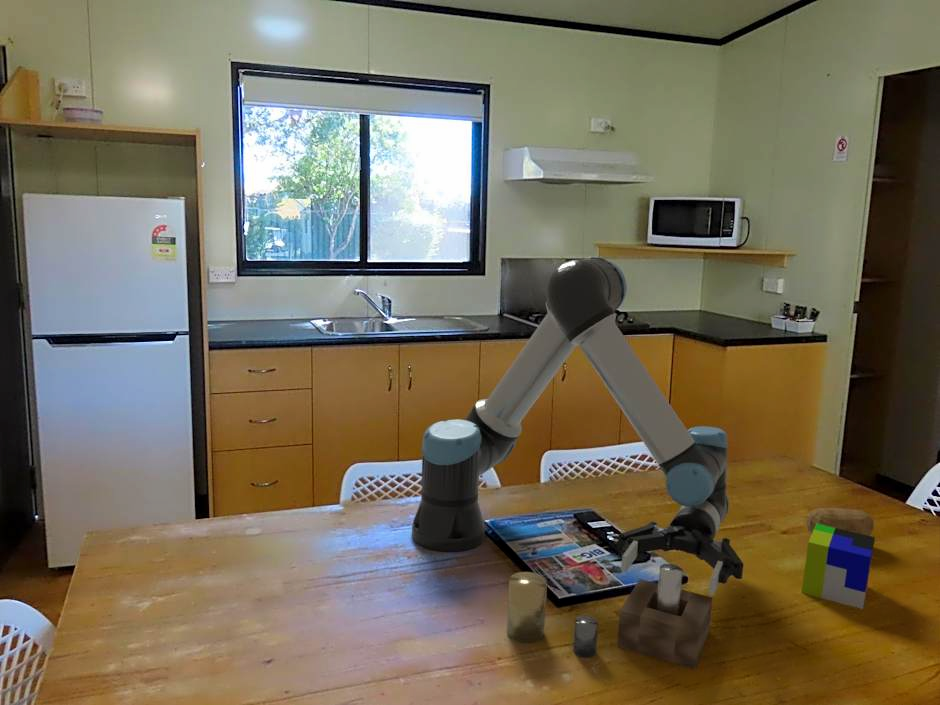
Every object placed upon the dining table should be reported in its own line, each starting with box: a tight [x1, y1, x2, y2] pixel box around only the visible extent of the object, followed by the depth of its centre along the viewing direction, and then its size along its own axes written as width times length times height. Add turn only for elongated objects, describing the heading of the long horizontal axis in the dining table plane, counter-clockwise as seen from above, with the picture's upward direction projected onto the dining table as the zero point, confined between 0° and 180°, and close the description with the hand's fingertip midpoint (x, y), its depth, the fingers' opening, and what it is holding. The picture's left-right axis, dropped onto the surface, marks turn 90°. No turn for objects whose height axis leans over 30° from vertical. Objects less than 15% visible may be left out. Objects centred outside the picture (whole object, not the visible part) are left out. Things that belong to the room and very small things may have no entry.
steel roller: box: [656, 563, 684, 616], centre depth 118 cm, size 4×4×12 cm
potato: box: [806, 507, 875, 536], centre depth 156 cm, size 10×14×8 cm
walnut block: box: [616, 578, 714, 670], centre depth 119 cm, size 12×12×6 cm
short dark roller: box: [572, 615, 599, 659], centre depth 115 cm, size 4×4×5 cm
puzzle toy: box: [801, 524, 876, 610], centre depth 137 cm, size 10×10×10 cm
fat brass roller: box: [506, 571, 548, 644], centre depth 119 cm, size 6×6×9 cm
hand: (666, 575), depth 115 cm, fingers open, 13 cm apart
